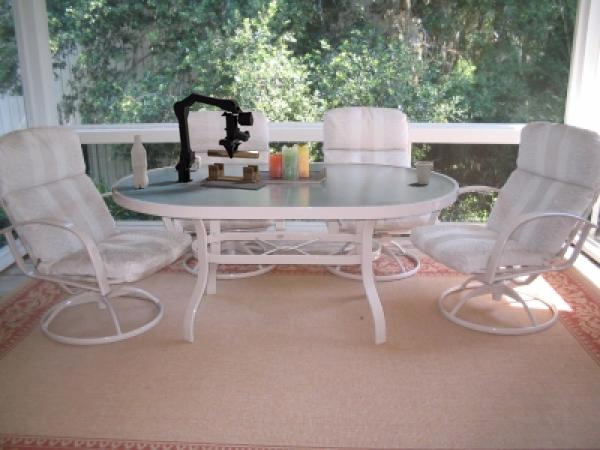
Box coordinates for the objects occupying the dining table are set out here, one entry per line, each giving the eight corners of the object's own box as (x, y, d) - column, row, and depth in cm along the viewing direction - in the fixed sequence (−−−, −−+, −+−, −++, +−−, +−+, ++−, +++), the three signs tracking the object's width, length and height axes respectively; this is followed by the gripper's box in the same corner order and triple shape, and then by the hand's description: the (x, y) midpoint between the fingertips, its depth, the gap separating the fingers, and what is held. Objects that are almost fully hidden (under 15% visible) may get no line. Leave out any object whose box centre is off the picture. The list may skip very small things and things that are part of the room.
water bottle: (144, 189, 282) (140, 136, 275) (130, 188, 284) (126, 136, 277) (151, 186, 289) (147, 134, 282) (137, 185, 290) (133, 134, 284)
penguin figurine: (199, 155, 324) (177, 157, 325) (201, 171, 327) (180, 173, 327) (201, 153, 331) (179, 156, 331) (203, 169, 333) (182, 171, 333)
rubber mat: (257, 190, 280) (257, 188, 280) (200, 186, 290) (200, 184, 289) (266, 185, 290) (266, 184, 290) (210, 181, 300) (210, 180, 299)
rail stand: (254, 184, 293) (254, 168, 291) (205, 180, 302) (204, 165, 299) (261, 180, 301) (261, 165, 299) (213, 177, 310) (213, 162, 308)
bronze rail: (256, 159, 287) (256, 152, 286) (207, 157, 295) (207, 149, 294) (259, 158, 290) (258, 151, 289) (210, 155, 298) (210, 148, 297)
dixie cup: (431, 184, 290) (433, 164, 287) (414, 184, 292) (415, 164, 289) (431, 181, 298) (432, 161, 295) (414, 181, 300) (415, 161, 297)
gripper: (239, 128, 277) (240, 161, 281) (254, 124, 294) (255, 155, 299) (217, 127, 281) (219, 160, 285) (233, 123, 298) (234, 154, 302)
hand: (233, 158), depth 292 cm, fingers closed on bronze rail, 3 cm apart
